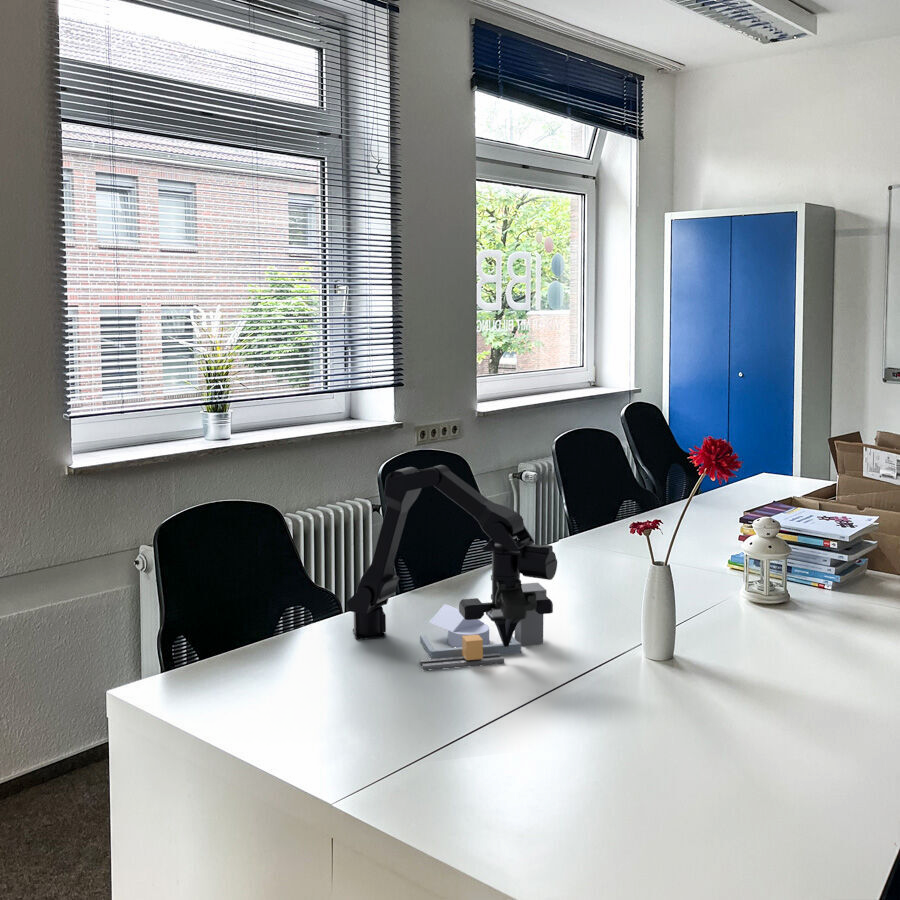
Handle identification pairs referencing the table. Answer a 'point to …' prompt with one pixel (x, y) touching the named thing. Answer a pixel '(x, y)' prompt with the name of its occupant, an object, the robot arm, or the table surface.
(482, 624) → the wedge on round base
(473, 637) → the tan wooden cube
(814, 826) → the table surface
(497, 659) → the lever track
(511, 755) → the table surface
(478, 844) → the table surface
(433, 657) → the press bed
